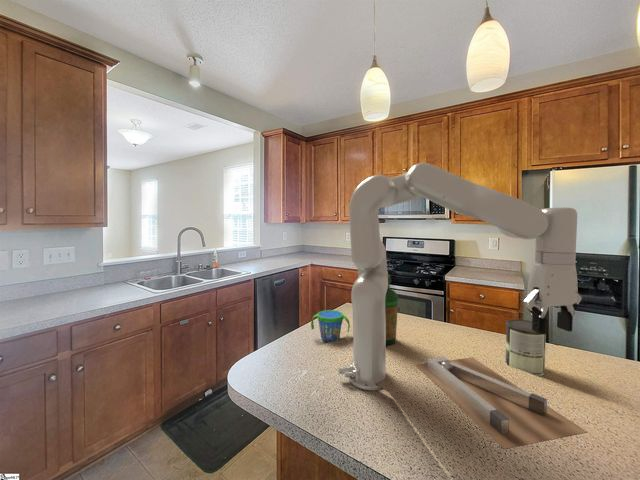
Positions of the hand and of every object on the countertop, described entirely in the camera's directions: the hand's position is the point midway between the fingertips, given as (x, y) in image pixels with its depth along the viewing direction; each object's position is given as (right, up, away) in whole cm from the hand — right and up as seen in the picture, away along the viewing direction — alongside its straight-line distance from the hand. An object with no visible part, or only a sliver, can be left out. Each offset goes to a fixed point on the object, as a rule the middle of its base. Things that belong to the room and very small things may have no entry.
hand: (551, 330), depth 69 cm
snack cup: (-53, -18, +45) cm, 72 cm away
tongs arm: (-12, -18, +6) cm, 23 cm away
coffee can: (+8, -19, +20) cm, 28 cm away
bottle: (-33, -18, +39) cm, 54 cm away
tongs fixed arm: (-18, -18, +5) cm, 26 cm away
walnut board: (-13, -20, +6) cm, 24 cm away
